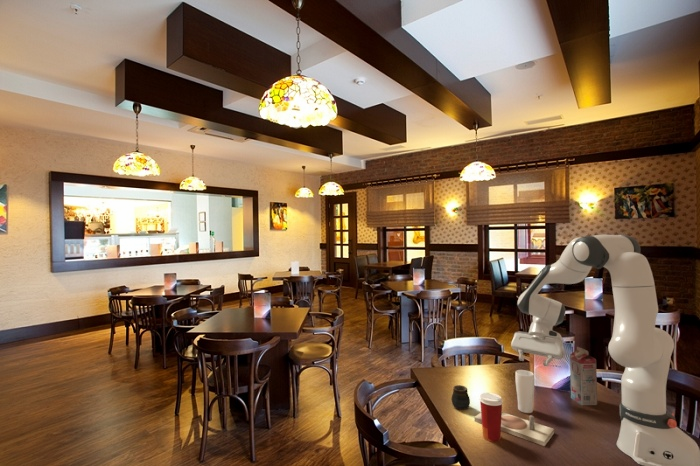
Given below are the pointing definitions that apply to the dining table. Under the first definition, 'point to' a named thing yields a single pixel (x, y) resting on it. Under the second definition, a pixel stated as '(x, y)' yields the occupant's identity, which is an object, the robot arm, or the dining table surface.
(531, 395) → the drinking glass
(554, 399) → the dining table surface
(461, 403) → the mate gourd
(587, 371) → the juice carton
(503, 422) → the pin board
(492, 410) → the paper cup
